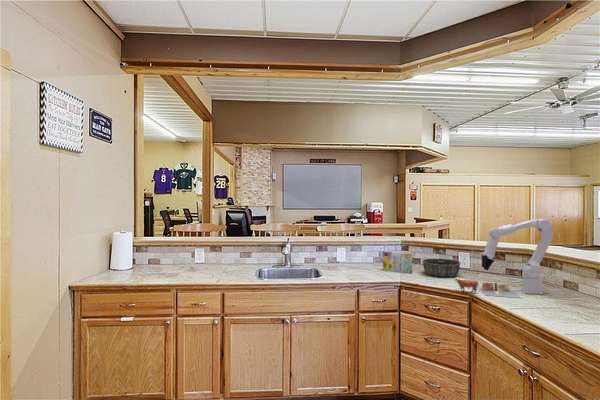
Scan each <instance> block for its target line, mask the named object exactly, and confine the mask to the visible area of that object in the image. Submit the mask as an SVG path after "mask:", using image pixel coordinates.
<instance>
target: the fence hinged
mask: <svg viewBox="0 0 600 400" xmlns="http://www.w3.org/2000/svg"><path fill="white" fill-rule="evenodd" d="M481 286H482V287H481V289H482V290H495V283H493V282H482V285H481ZM482 290H481V291H482Z"/></svg>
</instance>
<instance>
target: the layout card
mask: <svg viewBox="0 0 600 400" xmlns="http://www.w3.org/2000/svg"><path fill="white" fill-rule="evenodd" d="M480 290H481V292H482V294H484V296H486V297H499V298H513V299H522V296H520V294H518V293H517V292H516V291H515V290H510V289H509V292H502V291H495V289H494V290H482V288H480Z"/></svg>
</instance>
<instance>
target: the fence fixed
mask: <svg viewBox="0 0 600 400" xmlns="http://www.w3.org/2000/svg"><path fill="white" fill-rule="evenodd" d="M494 290H495V291H502V292H509V290H510V284H500V283H498V284H497V282H494Z"/></svg>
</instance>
